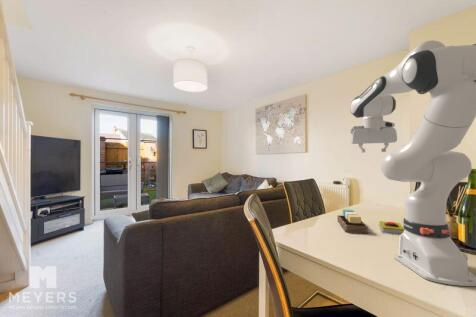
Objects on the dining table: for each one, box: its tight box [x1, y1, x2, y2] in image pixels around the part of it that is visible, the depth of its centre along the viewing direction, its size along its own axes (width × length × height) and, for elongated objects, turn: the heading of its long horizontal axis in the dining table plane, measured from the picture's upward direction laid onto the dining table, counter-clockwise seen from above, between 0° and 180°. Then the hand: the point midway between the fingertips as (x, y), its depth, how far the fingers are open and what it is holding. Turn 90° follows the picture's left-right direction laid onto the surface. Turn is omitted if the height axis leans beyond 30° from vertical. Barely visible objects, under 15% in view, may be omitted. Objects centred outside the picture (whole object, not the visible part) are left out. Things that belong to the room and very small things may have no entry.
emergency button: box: [378, 220, 405, 236], centre depth 110 cm, size 9×4×15 cm
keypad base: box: [337, 214, 369, 235], centre depth 117 cm, size 20×10×3 cm, turn 166°
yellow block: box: [348, 214, 362, 224], centre depth 111 cm, size 4×5×4 cm
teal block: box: [342, 208, 355, 217], centre depth 122 cm, size 4×5×4 cm
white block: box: [345, 211, 358, 220], centre depth 117 cm, size 4×5×4 cm
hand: (373, 152), depth 112 cm, fingers open, 8 cm apart
